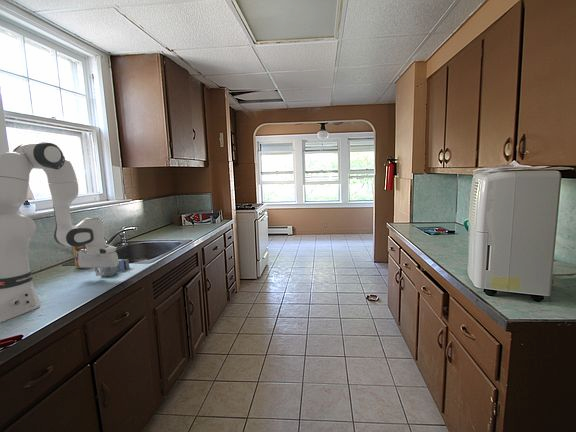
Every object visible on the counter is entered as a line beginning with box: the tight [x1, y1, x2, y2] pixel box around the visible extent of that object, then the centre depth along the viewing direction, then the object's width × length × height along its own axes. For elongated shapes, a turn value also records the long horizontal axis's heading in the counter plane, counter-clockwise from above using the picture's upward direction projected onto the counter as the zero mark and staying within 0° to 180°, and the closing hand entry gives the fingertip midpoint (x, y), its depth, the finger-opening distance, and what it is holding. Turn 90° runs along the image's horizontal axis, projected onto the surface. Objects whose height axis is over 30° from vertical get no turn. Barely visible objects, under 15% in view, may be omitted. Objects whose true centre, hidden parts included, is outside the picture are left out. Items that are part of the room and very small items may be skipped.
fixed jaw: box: [123, 258, 130, 270], centre depth 180 cm, size 3×6×5 cm, turn 83°
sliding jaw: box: [99, 266, 119, 277], centre depth 169 cm, size 6×6×5 cm
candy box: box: [72, 245, 86, 270], centre depth 187 cm, size 9×4×15 cm, turn 123°
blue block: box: [117, 258, 126, 273], centre depth 176 cm, size 4×5×6 cm
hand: (100, 275), depth 162 cm, fingers closed
